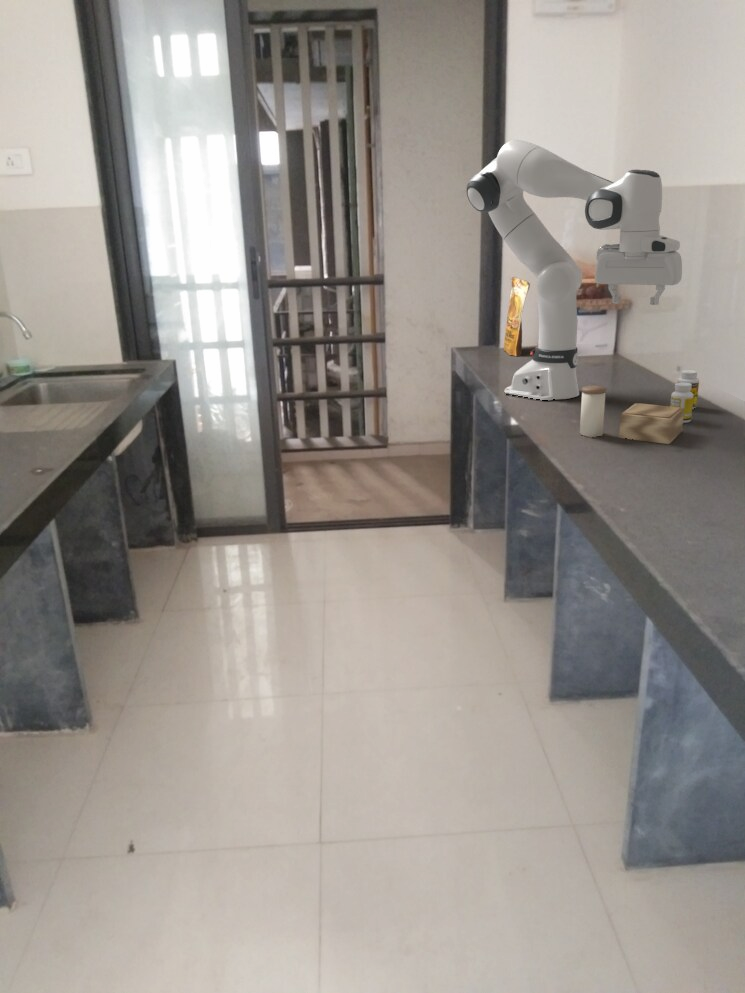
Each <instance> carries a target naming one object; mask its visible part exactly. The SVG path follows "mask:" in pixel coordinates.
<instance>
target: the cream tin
mask: <svg viewBox="0 0 745 993" xmlns="http://www.w3.org/2000/svg"><path fill="white" fill-rule="evenodd" d="M606 394H607V387H605V386H600V385H585V386H582V387H581V406H580V422H579V424H580V425H579V434H580V433H581V434H582V435H586V436H592V437H593V436H594V438H597V437H596V436H601V435H602V436H604V435H603V434H604V420H605V407H606ZM602 436H601V437H602ZM592 437H591V438H592Z"/></svg>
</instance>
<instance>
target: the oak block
mask: <svg viewBox="0 0 745 993" xmlns="http://www.w3.org/2000/svg"><path fill="white" fill-rule="evenodd" d="M683 417H684V408H680V407H671V406H670V405H659V404H650V403H649V404H648V403H639V402H638V403H633V404H632V405H631V406H629V408H627V409H626V410H624V411H622V412H621V413H620V419H619V420H620V421H619V430H618V431H619V432H618V439H625V438H627V440H632V439H633V440H632V441H643V442H649V443H650V442H651V443H659V444H664V445H670V444H671V443H672V442H673V441H674V440H675V439H676V438H677V437H678V436H679V435H680V434H681V433H683V425H684V423H683Z"/></svg>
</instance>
